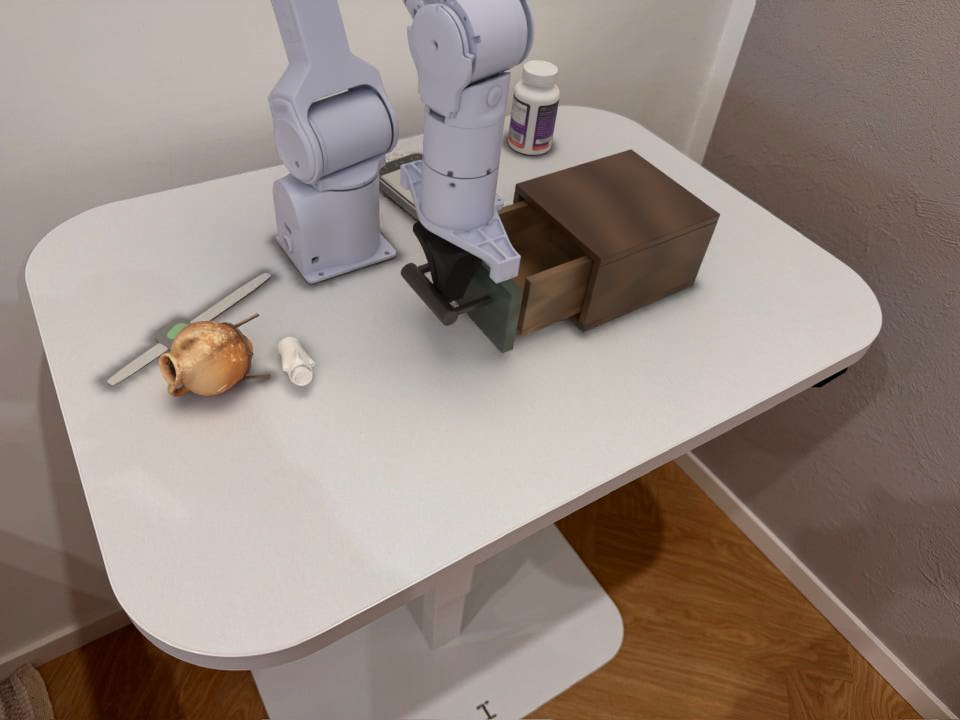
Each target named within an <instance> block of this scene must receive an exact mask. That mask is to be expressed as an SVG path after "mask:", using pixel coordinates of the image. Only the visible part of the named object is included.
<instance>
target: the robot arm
mask: <svg viewBox="0 0 960 720" xmlns="http://www.w3.org/2000/svg"><path fill="white" fill-rule="evenodd" d="M401 1H402V2H403V4H404V6H405V8H406V10H407V12H408V14H409V15H410V17H411V19H412V24H411V26H409V25H407V27H406V35H407V44H408V48H409V52H410V55H411V58H412V61H413V64H414V65H415V69H416V72H417V80H418V83H417V87H418V88H417V93H418V94H419V95H420V101H421V102H422V103H423V104H424V109H423V111H424V114H423V133H422V134H423V136H422V137H423V138H422V153H423V157H422V160H418V161H414V162H410V163H407V164H403V165H401V170H400V185H401V186H402V187H403V188H404V189H405V190H410V191H411V195H412V198H413V201H414V205H415V208H416V211H417V215H418V218H419V220H420V221H418V220H416V222H414V223H413V225H412V233H413V234H414V235H415V237H416V239H417V241H418V242H419V245H420V246H421V249H422V251H423V253H424V256H425V258H426V263H428V265H429V269H430V272H429V273H430V277H431V282H432V283H433V285H434V286H435V287H436V288H437V289H438V290H439V291H440V292H441V293H442V295H443V296H444V297H445V298H446V299H447V300H448V301H449V302H450V303H453V302H455V301H456V300H458V299H461V298H463V296H464V294H465V292H466V289H467V287H468V285H469V283H470V280H471V278H472V276H473V274H474V273H475V271H476V269H477V268H478V266H479V265H480V263H481V262H482V261H484V262H485V263H486V264H487V265H488V266H489V267H490V278H491V279H492V280H493V281H494V282H495V283H500V282H502V281H506V280H508V279H511V278H513V277H516V276H518V270H519V264H520V258H521V256H520V255H519V254H518V253H517V252H516V251H515V249H514V248H513V246H512V245H511V243H510V241H509V238H508V236H507V234H506V231H505V229H504V227H503V224H502V222H501V220H500V217H499V215H498V212H497V211H498V210H501V209H503V207H504V205H505V200H504V199H503V197H501V196H500V194H498V193H497V186H498V179H499V169H500V163H501V154H502V147H503V138H504V130H505V123H506V114H507V107H508V101H509V100H508V99H509V92H510V83H511V76H512V75H511V74H512V72H511V71H510V70H511V69H513V68H515V67H517V66H520V64H522V63H523V62H525V60H526V59H527V58H528V57H529V55H530V53H531V50H532V48H533V44H534V41H535V40H534V39H535V20H534V15H533V10H532V8H531V5H530V3H529V1H528V0H401ZM270 3H271V6H272V7H271V8H272V10H273V14H274V17H275V20H276V24H277V27H278V30H279V33H280V38H281V40H282V45H283V47H284V51H285V54H286V57H287V61H288V65H287V66H286V68H285V70H284V72H283V73H282V75H281V76H280V78H279V79H278V81H277V83H275V85H274V87H273V88H272V90H271V91H270V93H269V94H268V97H267V101H268V104H269V105H268V106H269V110H270V114H271V119H272V123H273V124H272V125H273V134H272V135H273V142H274V145H275V149H276V152H277V154H278V156H279V158H280V159H279V160H280V161H281V163H282V164H283V166H284V167H285V169H286V170H287V171H288V172H289V173H288V174H287V175H285V176H283V177H280V178H278V179H276V180H274V182H273V185H272V196H273V204H274V205H273V206H274V210H275V211H274V214H275V221H276V228H277V235H276V236H275V240H276V242H277V243H278V244H279V246H280V248H281V249H282V250H283V251H284V253H285V254H286V255H287V257H288V258H289V260H290V261H291V262H292V264H293V265H294V266H295V268H296V269H297V270H298V272H299V273H300V274H301V276H302V278H304V280H305V282H307V283H308V284H316V283H320V282H322V281H325V280H328V279H331V278H334V277H337V276H340V275H344V274H346V273H349V272H353V271H356V270H359V269H362V268H365V267H368V266H371V265H374V264H377V263H380V262H384V261H386V260H390V259H393V258H395V257H397V254H398V253H397V250H396V248H395V247H394V246H393V245H392V244H391V243H390V242H389V241H388V239H386V237H385V236H384V235H383V234H382V232H381V229H380V228H381V227H380V226H381V225H380V220H381V219H380V189H379V170H380V169H381V168H382V167H384V166H385V165H386V162H387V154H389V153H391V152H392V151H394V150H395V149H396V147H397V145H398V142H399V137H400V123H399V117H398V114H397V111H396V109H395V107H394V105H393V103H392V101H391V99H390V97H389V96H388V94H387V91H386V89H385V86H384V83H383V81H382V76H381V72H380V70H379V69H378V68H377V67H375V66H374V65H372V64H370V63H368V62H367V61H365V60H364V59H362V58H360V57H358V56H357V55H355V54H354V53H353V52H351V49H350V46H349V41H348V38H347V33H346V29H345V26H344V22H343V18H342V14H341V11H340V6H339V2H338V0H270Z"/></svg>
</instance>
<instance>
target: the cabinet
mask: <svg viewBox="0 0 960 720" xmlns="http://www.w3.org/2000/svg"><path fill="white" fill-rule="evenodd" d="M524 200H526V201H527V202H528V203H529V204H530V205H531V206H533V207H534V208H535V209H536V210H537V211H538V212H539V213H540V214H542V215H543V216H544V217H545V218H546V219H547V220H548V221H549V222H551V223H552V224H553V225H554V226H555V227H556V228H557V229H558V230H560V231H561V232H562V233H563V234H564V235H565V236H566V237H567V238H569V239H570V240H571V241H572V242H573V243H574V244H575V245H576V246H578V247H579V248H580V249H581V250H582V251H583V252H584V253H585V254H587V255H588V256H589V257H590V258H591V259H592V260H593V261H594V264H593V268H592V272H591V276H590V280H589V284H588V287H587V291H586V295H585V299H584V303H583V307H582V311H581V312H580V313H578V314H575V315H573V316H571V317H568V318H567V319H568V320H569V321H570V322H571V323H572V324H573V325H574V326H576V328H577V329H578V330H579V331H580V332H581V333H585V332H586V331H589V330H591V329H594V328H596V327H598V326H601V325H603V324H605V323H608V322H610V321H612V320H615V319H617V318H620V317H622V316H624V315H626V314H629V313H631V312H633V311H636V310H638V309H641V308H643V307H645V306H647V305H649V304H652V303H654V302H656V301H659V300H661V299H664V298H666V297H668V296H671V295H673V294H675V293H678V292H680V291H682V290H685V289H687V288H689V287H691V286H694V284H695V282H696V279H697V277H698V274H699V271H700V269H701V266H702V264H703V261H704V258H705V256H706V254H707V251H708V249H709V245H710V244H711V240H712V238H713V235H714V233H715V231H716V228H717V226H718V223H719V219H720V217H721V213H720V212H718V211H717V210H715V209H714V208H713V207H712V206H710V205H708V203H706V202H704V201H703V200H702V199H700V198H699V197H698V196H696V195H695V194H693V193H692V192H691V191H690V190H689V189H687V188H685V187H684V186H683V185H681V184H680V183H678V182H677V181H676V180H675V179H673V178H672V177H671V176H669V175H668V174H666V173H665V172H663V171H662V170H661V169H659V168H658V167H656V165H654V164H652V163H651V162H650V161H648V160H647V159H646V158H644V156H641V155H640V154H639V153H637V152H636V151H634V149H627V150H624V151H620V152H616V153H613V154H611V155H607V156H605V157H601V158H597V159H594V160H591V161H586V162H584V163H581V164H577V165H574V166H570V167H568V168H563V169H561V170H558V171H554V172H550V173H547V174H544V175H541V176H536V177H535V178H531V179H527V180H524V181H521V182H517V183H515V185H514V193H513V199H512V204H514V203H518V202H521V201H524Z"/></svg>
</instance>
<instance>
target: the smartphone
mask: <svg viewBox="0 0 960 720" xmlns="http://www.w3.org/2000/svg"><path fill="white" fill-rule="evenodd" d="M422 157H423V152H420V151H415V152H412V153H409V154H405V155H403V156H400V157H397V158H395V159H392V160H388V161H386V165H385V166H384V167H382V168H381V169H380V170H379V191H382V192H383V193H384V194H385V195H386V196H387V197H389V199H391V200H392V201H394V202H395V203H396V204H397V205H398V206H399V207H401V208H402V209H403V210H404V211H405V212H407V213H408V214H409V215H411V217H413V218H414V219H415V220H416V221H420V220H419V218H418V215H417V211H416V208H415V205H414V201H413V198H412V195H411V191H410V190H405V189H404V188H403V187H402V186H401V185H400V170H401V165H403V164H407V163H410V162H414V161H418V160H422Z"/></svg>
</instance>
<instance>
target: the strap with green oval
mask: <svg viewBox="0 0 960 720" xmlns="http://www.w3.org/2000/svg"><path fill="white" fill-rule="evenodd" d="M271 276H272V275H271V274H269V273H268V272H263V273H261V274H260V275H257V276H256V277H254V278H253V279H251V280H250V281H248V282H246V283H245V284H244V285H242V286H240V287H239V288H237V289H236V290H234V291H233V292H231V293H230V294H229V295H227V296H226V297H224V298H222V299H221V300H220V301H218V302H217V303H215V304H214V305H212V306H210V307H209V308H208V309H207V310H205V311H204V312H202V313H200V314H199V315H197V316H196V317H195V318H193V319H192V320H191V321H188V320H187V319H185V318H176V319H173V320H172V321H171V322H169V323H167V324H166V325H164V326H162V327H161V328H160V329H158V330H157V331H156V332H155V333H154V339H155V341H156V342H158V343H156V344H155V345H154V346H152V347H150V348H149V349H148V350H146V351H145V352H143V353H142V354H141V355H139V356H138V357H136V358H135V359H134V360H132V361H131V362H130V363H128V364H126V365H125V366H124V367H122V368H121V369H120V370H118V371H117V372H116V373H114V374H113V375H111V377H109V379H107V380H106V382H107V383H108V384H109V385H110V386H114V385H116V384H118V383H120V382H122V381H123V380H125V379H126V378H128V377H130V376H131V375H133V374H134V373H136V372H138V371H139V370H141V369H142V368H143V367H145V366H147V365H148V364H149V363H151V362H152V361H154V360H156V359H157V358H159V357H160V356H161V355H162V354H164V353H166V352H167V351H168V350H170V349H171V345H172V342H173V340H174V338H175V337H176V335H177V334H178V332H179V331H180V330H181V329H183V328H184V327H185V326H187V325H189V324H192V323H195V322H200V321H212V320H213V319H215V317H217V316H219V315H220V314H222V313H223V312H224V311H226V310H227V309H229V308H230V307H232V306H233V305H234V304H236V303H238V302H239V301H240V300H241V299H243V298H245V297H246V296H247V295H249V294H250V293H252V292H253V291H254V290H256V289H257V288H258V287H259V286H261V285H263V284H264V283H265V282H266V281H267V280H268V279H269V278H270V277H271Z"/></svg>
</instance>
